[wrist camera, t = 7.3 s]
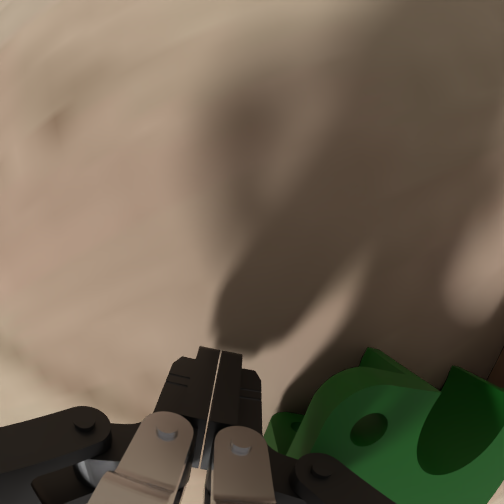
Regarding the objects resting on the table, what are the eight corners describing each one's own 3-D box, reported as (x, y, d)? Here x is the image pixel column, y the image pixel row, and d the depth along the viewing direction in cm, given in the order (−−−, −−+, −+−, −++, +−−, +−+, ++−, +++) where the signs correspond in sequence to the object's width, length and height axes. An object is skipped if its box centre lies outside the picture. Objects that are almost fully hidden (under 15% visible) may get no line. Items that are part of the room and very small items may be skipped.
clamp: (423, 345, 17) (549, 395, 8) (385, 430, 17) (493, 495, 8) (256, 318, 11) (499, 464, 3) (210, 449, 11) (343, 621, 3)
